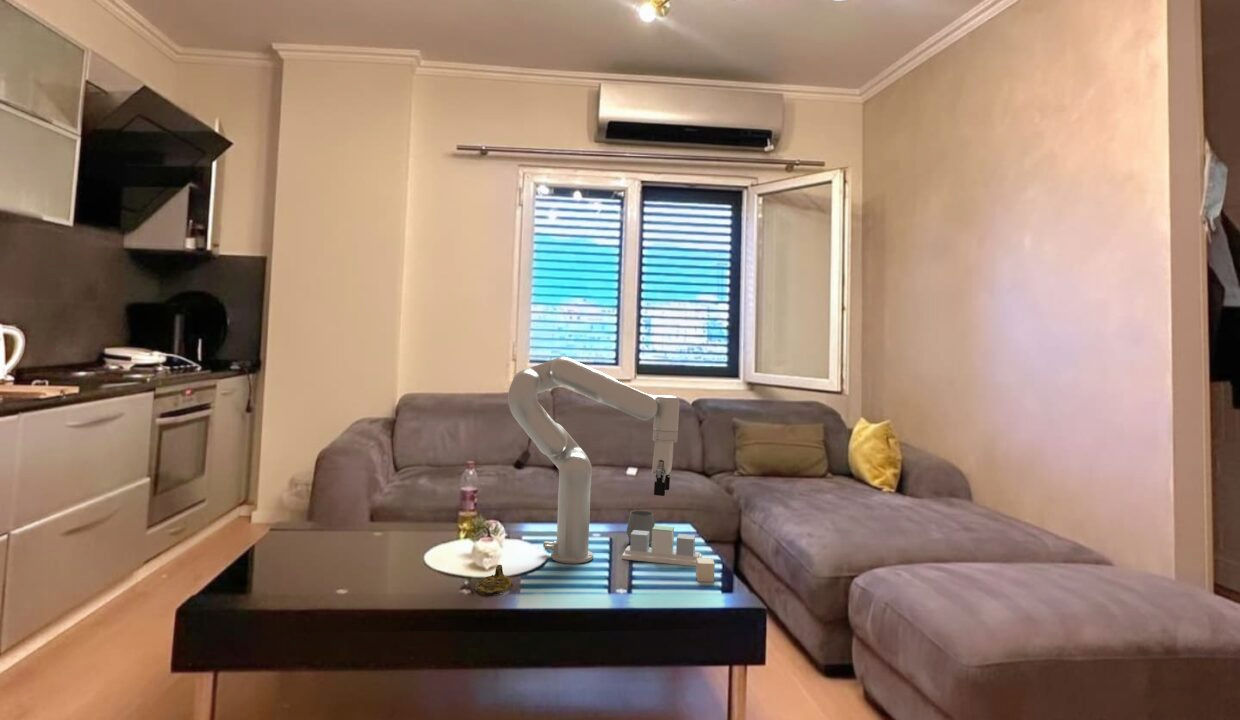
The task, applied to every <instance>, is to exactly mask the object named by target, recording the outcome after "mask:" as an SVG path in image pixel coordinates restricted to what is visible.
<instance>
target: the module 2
mask: <svg viewBox="0 0 1240 720" xmlns="http://www.w3.org/2000/svg"><path fill="white" fill-rule="evenodd" d="M715 565H716V564H715V561H714V559H713V557H711V558H710V557H708V558H707V557H701V558H696V566H695V577H696V581H697V582H706V583H707V582H709V583H710V582H711V583H714V582H715Z"/></svg>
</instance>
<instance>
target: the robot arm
mask: <svg viewBox="0 0 1240 720" xmlns="http://www.w3.org/2000/svg"><path fill="white" fill-rule="evenodd" d="M560 386H561V387H563V388H566V389H568V390H570V391H573V392H575V393H577V394H579V395H582V396H584V397H587V398H588V399H590V400H593V401H595V402H597V403H600V404H603V405H607V406H609V407H612V408H614V409H616V410H618V411H621V412H623V413H625V414H627V415H630V416H631V417H634V418H636V419H639V420H643V421H649V420H651V419H653V427H652V441H653V442H654V448H653V449H654V450H653V456H652V457H653V458H652V466H651V467H652V468H651V473H652V475H655V478H654V484H653V486H654V488H653V496H661V497H664V496H665V494H666V491H669V490H670V483H671V477H670V475H671V471H672V467H673V459H674V457H673V456H674V443H678V436H679V435H678V433H679V417H680V416H679V415H680V398H679V397H678V396H675V395H664V394H661V395H655V394H654V395H653V394H648V393H645V392H643V391H640V390H639V389H635V388H633V387H631V386H630V385H627V384H624V382H623V383H622V382H620V381H618V380H617V379H616V378H614V377H613V376H610V375H608V374H606V373H603V372H601V371H599V370H597V369H595V368H592V367H590V366H587V365H585V364H584V363H581V362H579V361H576V360H574V359H572V358H569V357H567V356H559V357H556V358H554V359H552V360H549V361H545V362H543V363H540V364H537V365H534V366H530V367H527V368H525V369H522V370H520V371H518V372H517V373H516V374H515V375H514V377H513V379H512V380H511V383H510V386H509V389H508V394H507V403H508V407H509V408H508V409H509V411H510V413H511V415H512V416H513V418H514V420H515V421H516V422H517V423H518V424H519V426H520V427H521V428H522V430H523V431H524V432H525V433H526V435H528V436H527V437H529V439H530V440H532V442H533V443H534V444H535V445H536V447H537V448H538V450H539V452H541V453H542V454H543V455H545V456H547V457H548V459H549V460H550V461H551V462H552V463H553V464H554V466H556V468H557V469H558V470H559V471H558V489H557V490H558V493H557V523H556V531H557V532H556V540H554V541H548V540H547V541H546V540H544V541H543V544H542V545H543V546H542V547H543V548H544V549H545V550H552V552H551V553H550V558H551V559H552V560H553V561H554V562H558V563H563V564H571V565H572V564H573V565H574V564H576V565H577V564H584V563H588V562H591V561H592V560H593V559H594V553H593V552H592V551H590V550H589V542H590V541H589V539H590V538H589V537H590V517H591V515H590V513H591V512H590V511H591V506H590V505H591V487H592V477H593V475H592V473H593V470H592V469H593V467H592V463H591V460H590V458H589V457H588V455H587V454H586V452H585V451H584V450H583V449H582V448H581V447H580V446H579V444H578V443H577V442H576V440H575V439H574V438H573V437H572V436H571V435H570V434H569V432H567V430H566V429H565V428H564V427H563V426H562V425H561V424H559V423H558V422H555V420H554V419H553V418H552V417H551V416H550V415H549V414H548V412H547V411H546V409H545V408H544V407H543V406H542V404H540V402H539V400H538V394H540V393H544V392H546V391H549V390H552V389H555V388H557V387H560Z"/></svg>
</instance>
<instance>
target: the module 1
mask: <svg viewBox="0 0 1240 720" xmlns="http://www.w3.org/2000/svg"><path fill="white" fill-rule="evenodd" d="M674 539H675V527H674V526H667V525H666V526H665V525H655V526H654V527H653V529H652V542H651V548H652V550H651V552H654V553H665V554H672V552H673V550H674V545H675V544H674V541H675V540H674Z"/></svg>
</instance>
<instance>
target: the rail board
mask: <svg viewBox="0 0 1240 720" xmlns="http://www.w3.org/2000/svg"><path fill="white" fill-rule="evenodd" d="M649 533H650V531H640V530H633V531H632V533H631V537H630V539H629V542H630V543H629V544H630V545H627V547H626V548H625V549H624V552H623V553H622V554H621V559H622V560H627V561H628V560H629V561H639V562H650V563H660V564H671V565H681V566H682V565H683V566H693V567H696V558H702V555H703V554H702V553H700V551H695V550H696V549H695V548H696V547H695V546H696V535H695V534H686V533H678V534H677V536H676V548H675V549H673V552H672V554H665V553H654V552H651V550H652V547H650V544H649Z"/></svg>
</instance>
